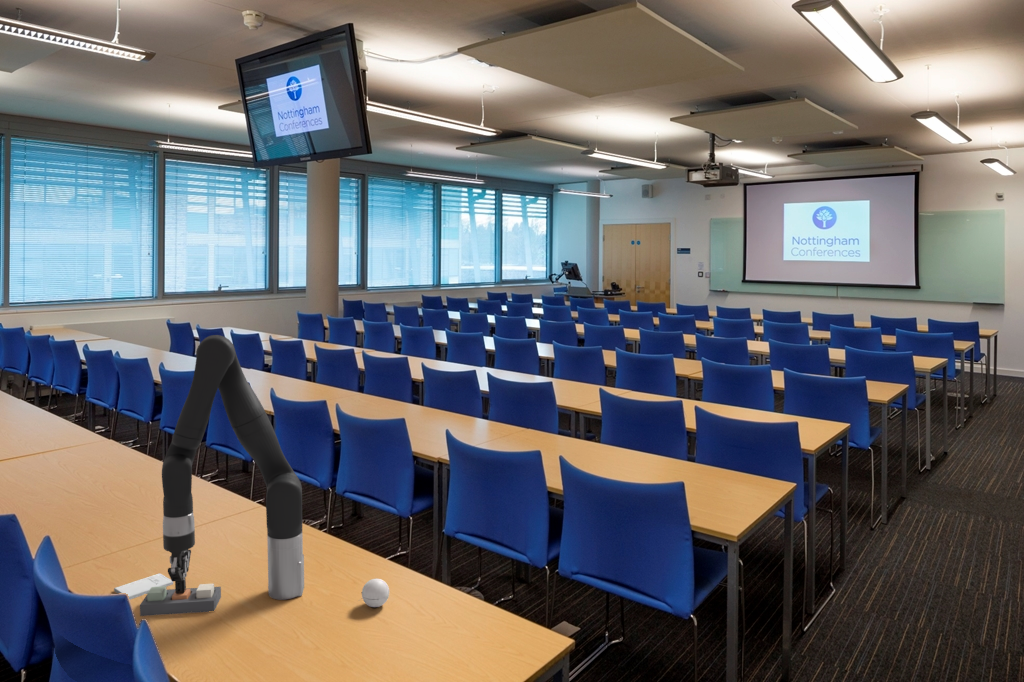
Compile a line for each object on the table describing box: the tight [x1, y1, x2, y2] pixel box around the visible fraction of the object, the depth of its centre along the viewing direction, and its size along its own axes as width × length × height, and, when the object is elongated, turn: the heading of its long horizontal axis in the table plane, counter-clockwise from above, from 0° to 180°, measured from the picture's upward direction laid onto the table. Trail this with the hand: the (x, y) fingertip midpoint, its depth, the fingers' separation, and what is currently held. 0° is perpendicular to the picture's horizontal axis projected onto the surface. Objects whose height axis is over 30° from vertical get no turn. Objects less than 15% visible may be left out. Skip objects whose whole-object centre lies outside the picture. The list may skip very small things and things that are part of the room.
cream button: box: [196, 583, 215, 598], centre depth 188 cm, size 4×4×3 cm
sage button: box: [146, 586, 167, 601], centre depth 185 cm, size 4×4×3 cm
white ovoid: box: [359, 578, 390, 608], centre depth 188 cm, size 10×7×7 cm
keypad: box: [139, 586, 222, 617], centre depth 187 cm, size 18×8×3 cm, turn 100°
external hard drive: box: [113, 573, 174, 601], centre depth 197 cm, size 2×8×12 cm
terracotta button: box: [172, 589, 191, 600], centre depth 187 cm, size 4×4×3 cm
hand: (180, 592), depth 186 cm, fingers closed
